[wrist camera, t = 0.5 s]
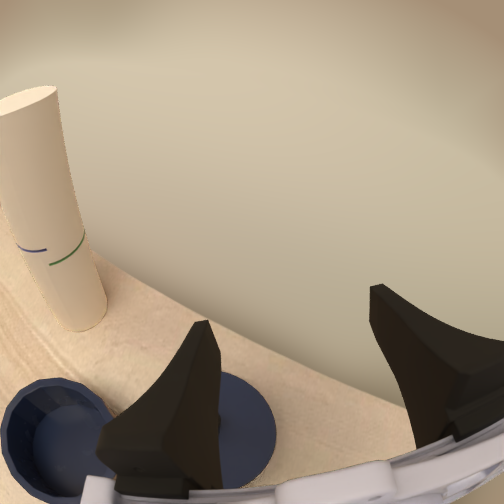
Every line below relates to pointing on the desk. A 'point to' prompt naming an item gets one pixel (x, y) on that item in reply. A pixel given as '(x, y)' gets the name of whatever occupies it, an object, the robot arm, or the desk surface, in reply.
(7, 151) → the cylindrical container
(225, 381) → the tin lid
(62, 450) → the tin
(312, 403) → the desk surface
